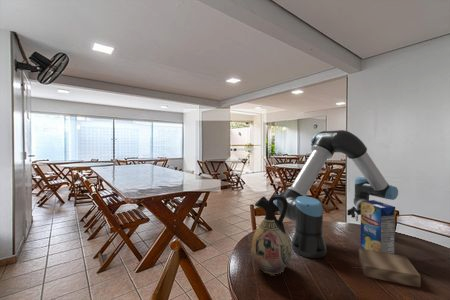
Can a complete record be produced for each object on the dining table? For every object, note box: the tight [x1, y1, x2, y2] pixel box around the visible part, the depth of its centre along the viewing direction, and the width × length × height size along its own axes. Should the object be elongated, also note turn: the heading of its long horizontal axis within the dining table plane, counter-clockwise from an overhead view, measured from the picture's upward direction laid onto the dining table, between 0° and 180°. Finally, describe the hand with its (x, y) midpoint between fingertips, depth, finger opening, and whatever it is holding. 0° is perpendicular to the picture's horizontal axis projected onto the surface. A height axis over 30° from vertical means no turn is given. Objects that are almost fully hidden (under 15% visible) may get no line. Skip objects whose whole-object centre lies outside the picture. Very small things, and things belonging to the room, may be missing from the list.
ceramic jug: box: [250, 194, 292, 275], centre depth 84 cm, size 17×15×30 cm
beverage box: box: [359, 199, 396, 254], centre depth 96 cm, size 7×11×22 cm, turn 8°
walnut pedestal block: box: [358, 247, 422, 288], centre depth 83 cm, size 16×14×4 cm
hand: (373, 220), depth 103 cm, fingers open, 13 cm apart
